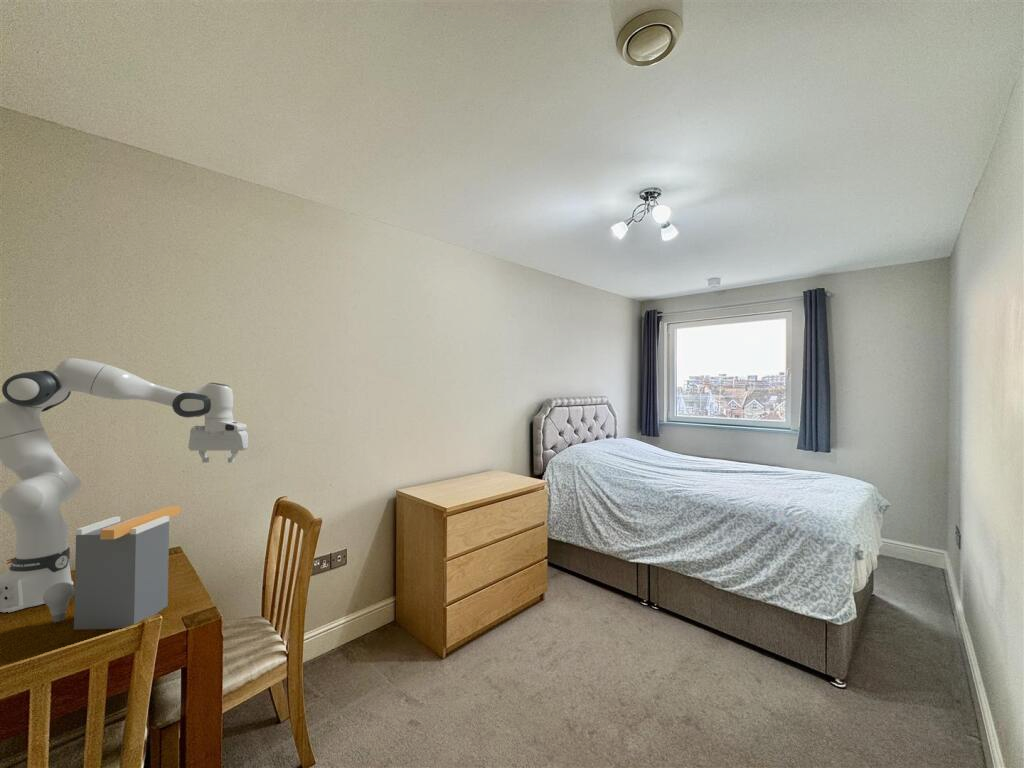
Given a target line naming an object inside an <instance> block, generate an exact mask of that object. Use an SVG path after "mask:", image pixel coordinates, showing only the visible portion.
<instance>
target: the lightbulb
mask: <svg viewBox="0 0 1024 768" xmlns="http://www.w3.org/2000/svg"><path fill="white" fill-rule="evenodd" d="M73 596H75V585H74V584H73V585H72V584H70V583H67V582H61V583H57V584H55V585H53V586H51V587H50V588H48V589H47V590H46V592H45V593H44V596H43V600H44V602H45V604H44V605H46V606H47V607H48V609H49V612H50V615H51V622H52V623H56V622H58V623H60V621H61V622H63V620H65V619H66V612H67V611H68V606H69V603H70V601H71V600H72V598H73Z"/></svg>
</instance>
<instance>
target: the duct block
mask: <svg viewBox="0 0 1024 768" xmlns="http://www.w3.org/2000/svg"><path fill="white" fill-rule="evenodd" d="M134 518H135V517H133V518H131V519H134ZM131 519H127V520H125V521H128V520H131ZM125 521H124V520H122V521H121V516H113V517H110V518H106V519H103V520H101V521H98V522H94V523H92V524H89V525H86V526H82V527H79V528H77V529H76V530H75V559H74V560H75V561H74V563H75V565H74V567H75V568H74V570H75V571H74V589H75V592H74V602H73V603H74V606H73V609H74V610H73V613H74V614H73V630H111V629H112V630H115V629H117V630H119V629H120V628H124V627H127V626H131V625H134V624H136V623H138V622H140V621H142V620H143V619H145V618H147V617H150V616H152V617H153V616H155V615H156V614H158V613H160V612H161V611H162V610H164V609H166V608H167V607H168V604H169V602H168V601H169V599H168V597H169V559H170V558H169V556H170V555H169V554H170V553H169V552H170V549H169V548H170V545H169V543H170V518H169V516H163V517H161V518H158V519H155V520H153V521H150V522H147V523H145V524H142V525H140V526H137V527H134V528H132V529H130V533H129V534H126V535H124V536H121V537H119V538H116V539H103V540H100V534H101V530H103V529H105V528H108V527H111V526H114V525H117V524H119V523H122V522H125ZM150 618H151V617H150ZM124 629H125V628H124Z"/></svg>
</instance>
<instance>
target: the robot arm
mask: <svg viewBox="0 0 1024 768" xmlns="http://www.w3.org/2000/svg"><path fill="white" fill-rule="evenodd" d="M1 392H2V395H3V397H4V398H5V399H6V400H4V401H2V402H0V462H1V464H2V465H3V467H5V468H7V469H9V470H11V471H12V472H13V473H14V474H16V476H17V477H18V478H19V479H20V481H18V482H16V483H14V484H13V485H11V486H9V488H7V489H6V490H5V491H4V492H2V494H1V496H0V508H1V509H2V510H3V512H5V513H6V514H8V515H9V516H10V519H11V521H12V523H13V526H14V530H15V536H16V540H15V542H16V543H15V546H16V547H15V556H14V557H13V558H10V559H8V560H6V563H5V564H6V565H9V564H10V566H9V569H8V570H7V571H5V572H4V573H1V575H0V613H6V612H8V613H12V612H15V611H20V610H23V609H26V608H27V609H28V608H32V607H36V606H41V605H43V604H44V605H46V604H45V602H44V600H43V596H44V593H45V592H46V590H47V589H48V588H50V587H51V586H53V585H55V584H57V583H61V582H67V583H70V584H72V585H73V586H74V581H73V580H72V574H71V568H70V567H71V566H70V562H69V561H70V558H71V550H70V549H71V548H70V547H69V524H68V522H67V521H66V520H65V519H64V517H63V514H62V511H61V504H63V503H66V502H68V501H69V500H71V499H72V498H73V497H74V496H75V495H76V494H77V493H79V491H80V489H81V487H82V480H81V478H80V476H79V475H77V474H76V472H74V471H71V470H70V468H68V467H67V466H66V464H65V463H64V462H63V460H62V459H61V458H60V457H59V456H58V454H57V453H56V451H55V449H54V448H53V446H52V443H51V441H50V439H49V437H48V434H47V431H46V430H45V428H44V425H43V423H42V421H41V415H40V414H41V413H42V412H46V411H49V410H51V409H52V408H55V407H56V406H59V405H61V404H62V403H65V401H66V400H68V398H69V397H70V396H71V394H72V392H78V393H83V394H87V395H92V396H95V397H99V398H103V399H110V400H111V399H112V400H142V401H149V402H153V403H157V404H161V405H164V406H168V407H172V410H173V411H174V413H175V414H176V415H178V416H180V417H182V418H185V419H186V418H187V419H191V418H200V417H203V416H204V425H194V426H193V427H191V429H190V431H189V434H190V436H189V439H188V450H190V451H195V452H197V451H198V455H199V457H200V458H201V463H203V464H206V463H209V462H210V457H208V456H207V452H208V451H209V452H210V451H211V452H212V451H213V452H214V451H221V452H222V451H230V454H231V456H230V457H228V458H227V463H229V464H230V463H235V461H236V459H235V458H236V456H237V455H238V453H239V451H246V450H247V449H248V448H249V442H250V441H249V435H248V431H246V430H247V428H248V427H247V426H248V425H247V424H246V423H242V422H240V421H237V420H234V415H233V409H234V391H233V388H232V387H231V386H230V385H227V384H224V383H218V382H208V383H206V384H205V385H203V386H201V387H199V388H195V389H192V390H189V391H181V390H178V389H174V388H170V387H166V386H162V385H159V384H155V383H153V382H150V381H147V380H146V379H144V378H142V377H140V376H138V375H136V374H134V373H131V372H130V371H127V370H125V369H122V368H120V367H117V366H113V365H110V364H106V363H103V362H100V361H99V362H98V361H94V360H91V359H90V360H89V359H84V358H83V359H82V358H75V357H70V358H67V359H64V360H62V361H61V362H60V363H59V364H58V365H57V366H56V367H55V369H54V370H53V371H50V370H47V369H45V370H37V371H28V372H27V371H26V372H20V373H17V374H13V375H12V376H10V377H8V378H7V379H5V381H4V382H3V384H2V387H1Z"/></svg>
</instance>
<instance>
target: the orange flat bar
mask: <svg viewBox="0 0 1024 768" xmlns="http://www.w3.org/2000/svg"><path fill="white" fill-rule="evenodd" d="M181 510H182V509H181V505H168V506H165V507H163V508H160V509H155V510H153V511H151V512H149V513H145V514H142V515H140V516H136V517H133V518H134V519H133V518H131V520H130V519H127V520H128V521H127V520H125V522H122V523H119V524H117V525H114V526H111V527H108V528H105V529H103V530H101V534H100V540H103V539H116V538H119V537H121V536H124V535H126V534H129V533H130V529H132V528H134V527H137V526H140V525H142V524H145V523H147V522H150V521H153V520H155V519H158V518H161V517H163V516H169V519H170V518H172V517H175V516H177V515H180V514H181Z"/></svg>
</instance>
